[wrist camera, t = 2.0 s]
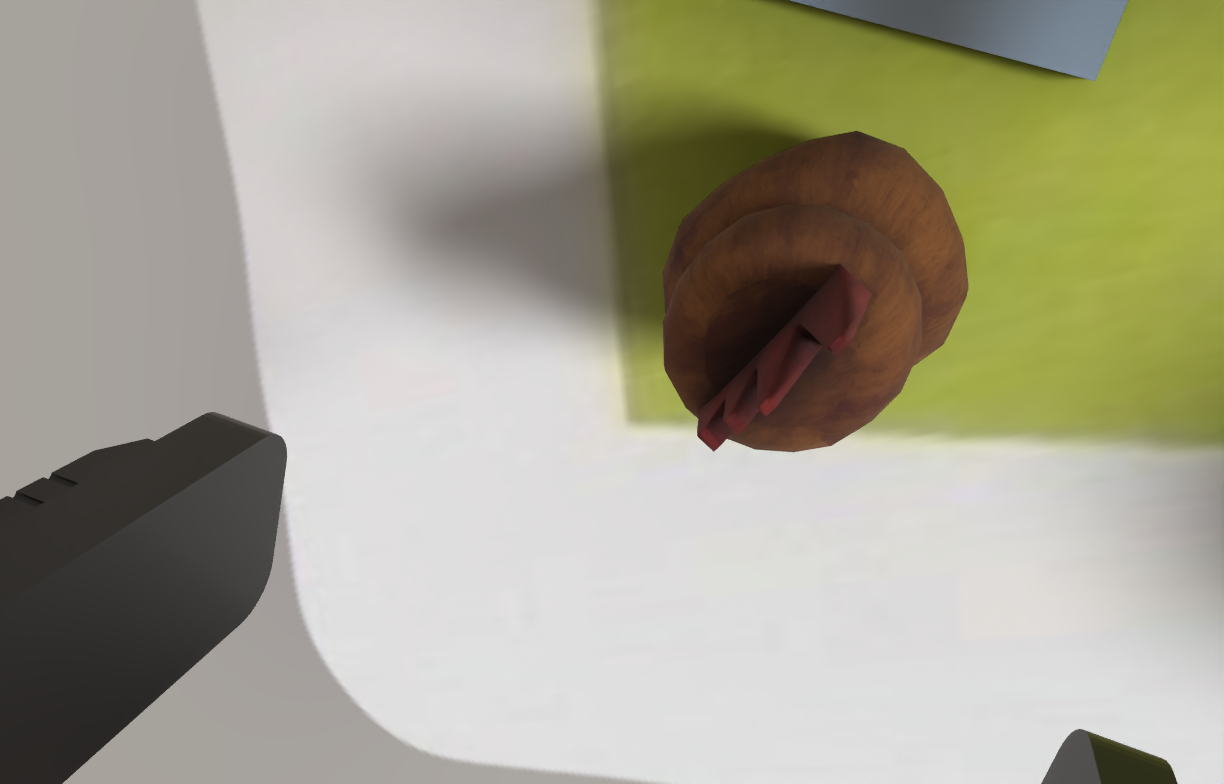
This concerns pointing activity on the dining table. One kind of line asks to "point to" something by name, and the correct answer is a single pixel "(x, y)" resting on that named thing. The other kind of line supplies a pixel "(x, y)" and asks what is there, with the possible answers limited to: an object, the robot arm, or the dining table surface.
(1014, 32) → the board
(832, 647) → the dining table surface
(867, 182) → the wooden figurine
